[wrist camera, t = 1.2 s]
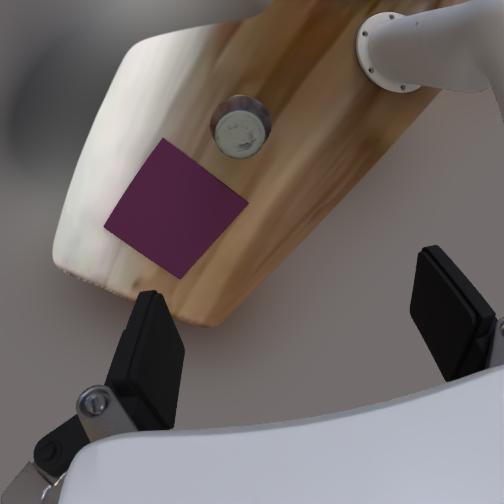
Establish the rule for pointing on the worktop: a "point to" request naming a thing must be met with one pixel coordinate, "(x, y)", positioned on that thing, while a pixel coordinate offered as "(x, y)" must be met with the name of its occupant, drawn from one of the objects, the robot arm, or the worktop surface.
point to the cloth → (173, 210)
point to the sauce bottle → (240, 126)
